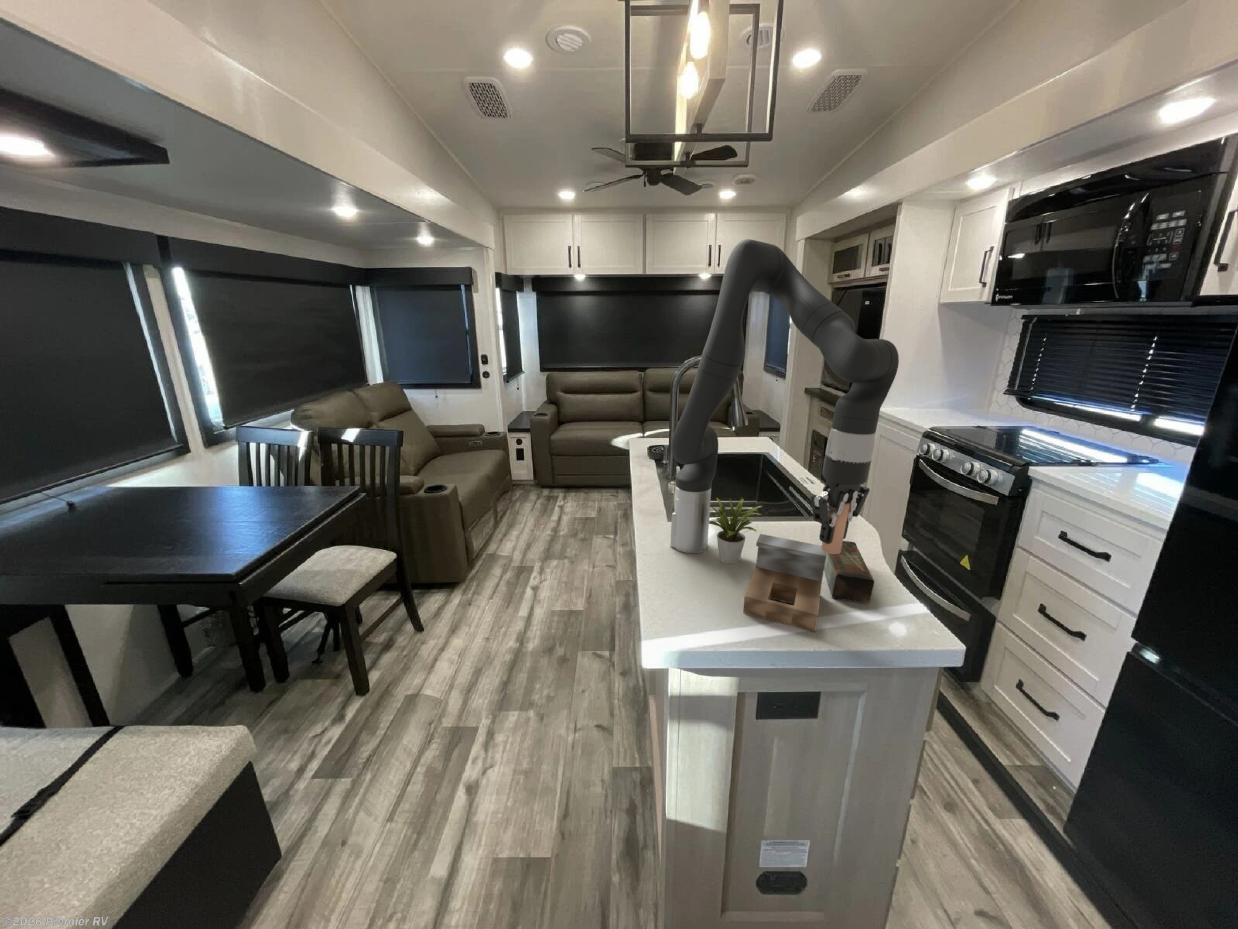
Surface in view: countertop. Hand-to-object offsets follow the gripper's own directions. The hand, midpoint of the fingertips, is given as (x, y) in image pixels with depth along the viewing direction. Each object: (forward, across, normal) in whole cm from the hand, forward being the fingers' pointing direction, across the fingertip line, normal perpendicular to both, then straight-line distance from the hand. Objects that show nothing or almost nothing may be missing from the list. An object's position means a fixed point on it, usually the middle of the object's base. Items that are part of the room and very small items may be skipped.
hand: (832, 539), depth 87 cm
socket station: (+18, +2, -7) cm, 20 cm away
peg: (+2, 0, 0) cm, 2 cm away
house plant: (+19, -1, -26) cm, 33 cm away
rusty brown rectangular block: (+19, -18, -8) cm, 27 cm away
